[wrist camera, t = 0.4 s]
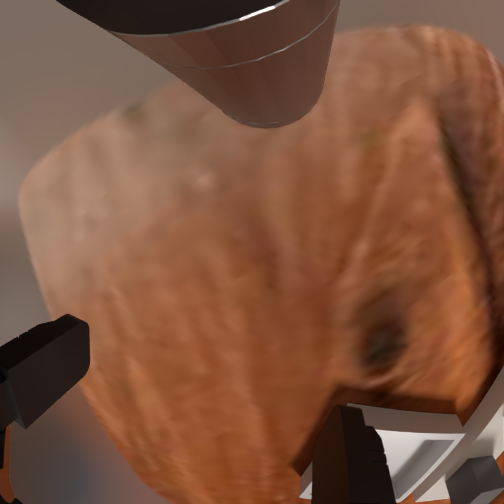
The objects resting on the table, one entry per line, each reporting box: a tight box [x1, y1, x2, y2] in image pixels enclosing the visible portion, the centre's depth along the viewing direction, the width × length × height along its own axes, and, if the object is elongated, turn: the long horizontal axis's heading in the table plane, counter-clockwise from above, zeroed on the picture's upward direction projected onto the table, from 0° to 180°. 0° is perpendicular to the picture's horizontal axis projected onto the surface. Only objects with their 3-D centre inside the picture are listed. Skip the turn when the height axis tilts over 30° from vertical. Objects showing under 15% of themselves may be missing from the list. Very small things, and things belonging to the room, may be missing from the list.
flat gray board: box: [413, 366, 504, 502], centre depth 24 cm, size 28×9×4 cm, turn 166°
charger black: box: [445, 455, 504, 504], centre depth 22 cm, size 5×5×9 cm
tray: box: [299, 403, 466, 502], centre depth 27 cm, size 15×15×4 cm
